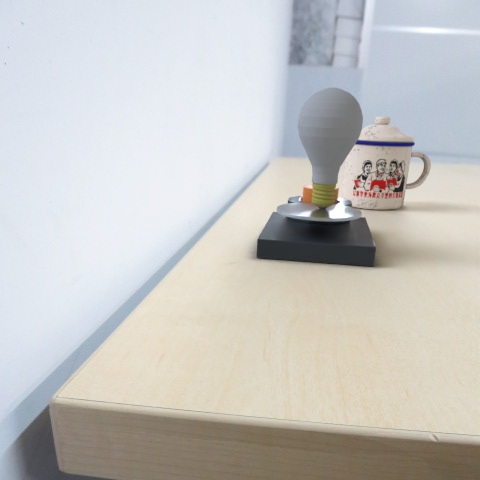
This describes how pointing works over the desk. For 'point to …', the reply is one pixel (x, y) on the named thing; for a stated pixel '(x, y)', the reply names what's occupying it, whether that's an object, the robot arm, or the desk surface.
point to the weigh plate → (319, 212)
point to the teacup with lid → (381, 167)
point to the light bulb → (328, 138)
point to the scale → (317, 239)
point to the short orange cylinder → (308, 192)
